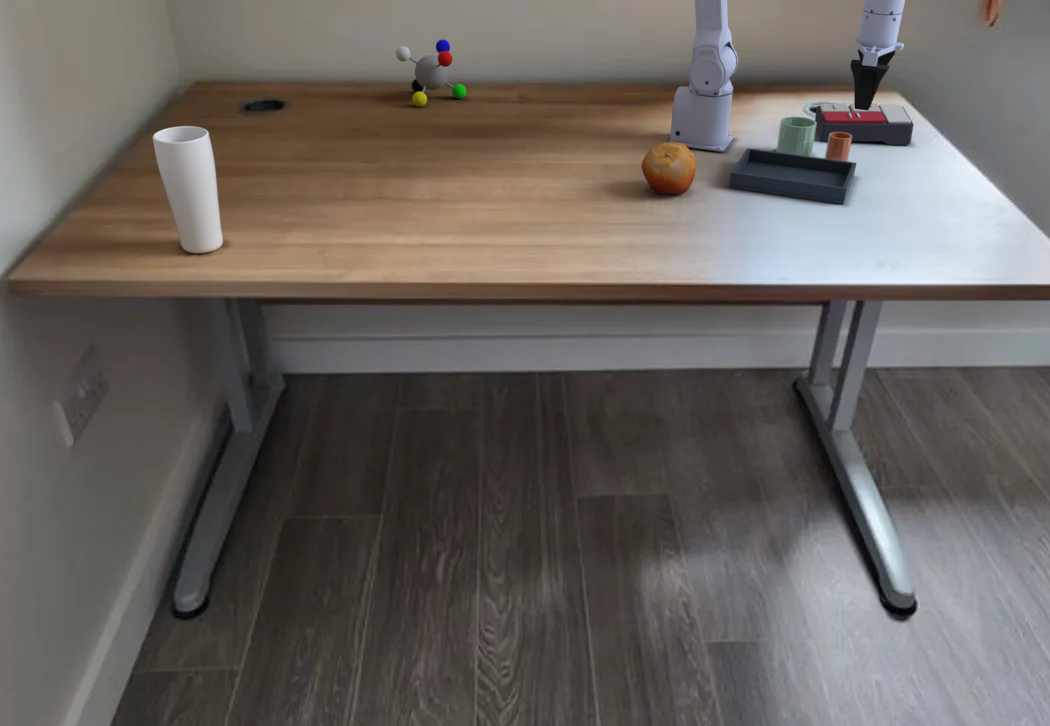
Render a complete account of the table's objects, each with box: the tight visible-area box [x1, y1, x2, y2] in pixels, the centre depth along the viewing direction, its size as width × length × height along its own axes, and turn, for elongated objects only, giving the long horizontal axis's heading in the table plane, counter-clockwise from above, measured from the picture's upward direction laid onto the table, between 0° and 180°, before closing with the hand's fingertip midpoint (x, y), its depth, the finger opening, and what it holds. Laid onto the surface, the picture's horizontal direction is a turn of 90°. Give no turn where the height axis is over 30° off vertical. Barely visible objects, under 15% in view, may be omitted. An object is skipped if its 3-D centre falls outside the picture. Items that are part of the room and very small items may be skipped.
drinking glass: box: [152, 125, 224, 254], centre depth 124 cm, size 7×7×15 cm
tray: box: [728, 147, 858, 205], centre depth 151 cm, size 17×12×2 cm
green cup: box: [776, 116, 817, 157], centre depth 160 cm, size 6×6×6 cm
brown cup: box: [824, 132, 853, 162], centre depth 158 cm, size 4×4×4 cm
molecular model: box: [395, 39, 467, 108], centre depth 183 cm, size 11×13×10 cm
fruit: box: [640, 142, 697, 195], centre depth 146 cm, size 8×8×8 cm
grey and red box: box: [814, 102, 915, 146], centre depth 170 cm, size 11×4×15 cm
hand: (864, 102), depth 154 cm, fingers open, 7 cm apart
